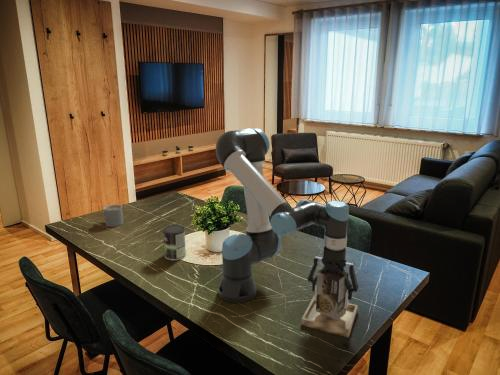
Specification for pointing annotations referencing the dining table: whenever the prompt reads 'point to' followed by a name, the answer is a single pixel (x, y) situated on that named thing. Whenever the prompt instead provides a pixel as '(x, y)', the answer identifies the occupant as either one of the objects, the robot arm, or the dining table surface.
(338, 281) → the coffee box
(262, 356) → the dining table surface
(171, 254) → the coffee can
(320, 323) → the holder
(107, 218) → the coffee mug
